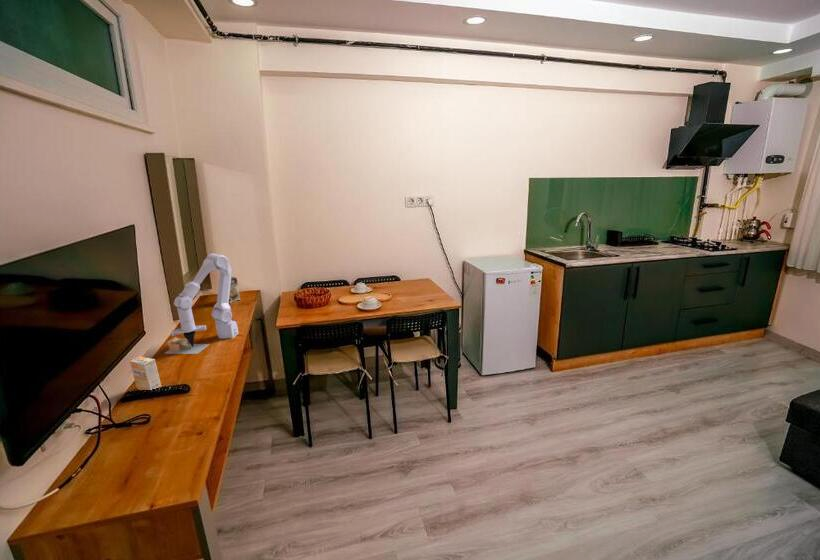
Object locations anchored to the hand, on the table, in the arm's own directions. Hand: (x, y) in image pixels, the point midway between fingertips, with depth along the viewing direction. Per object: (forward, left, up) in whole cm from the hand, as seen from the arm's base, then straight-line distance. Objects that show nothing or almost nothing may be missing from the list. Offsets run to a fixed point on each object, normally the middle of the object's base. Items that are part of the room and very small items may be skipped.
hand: (192, 345), depth 183 cm
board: (+2, +1, -2) cm, 3 cm away
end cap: (+8, 0, -1) cm, 8 cm away
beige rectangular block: (+6, 0, -1) cm, 6 cm away
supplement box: (-4, +34, -2) cm, 34 cm away
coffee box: (+18, -67, -2) cm, 70 cm away
